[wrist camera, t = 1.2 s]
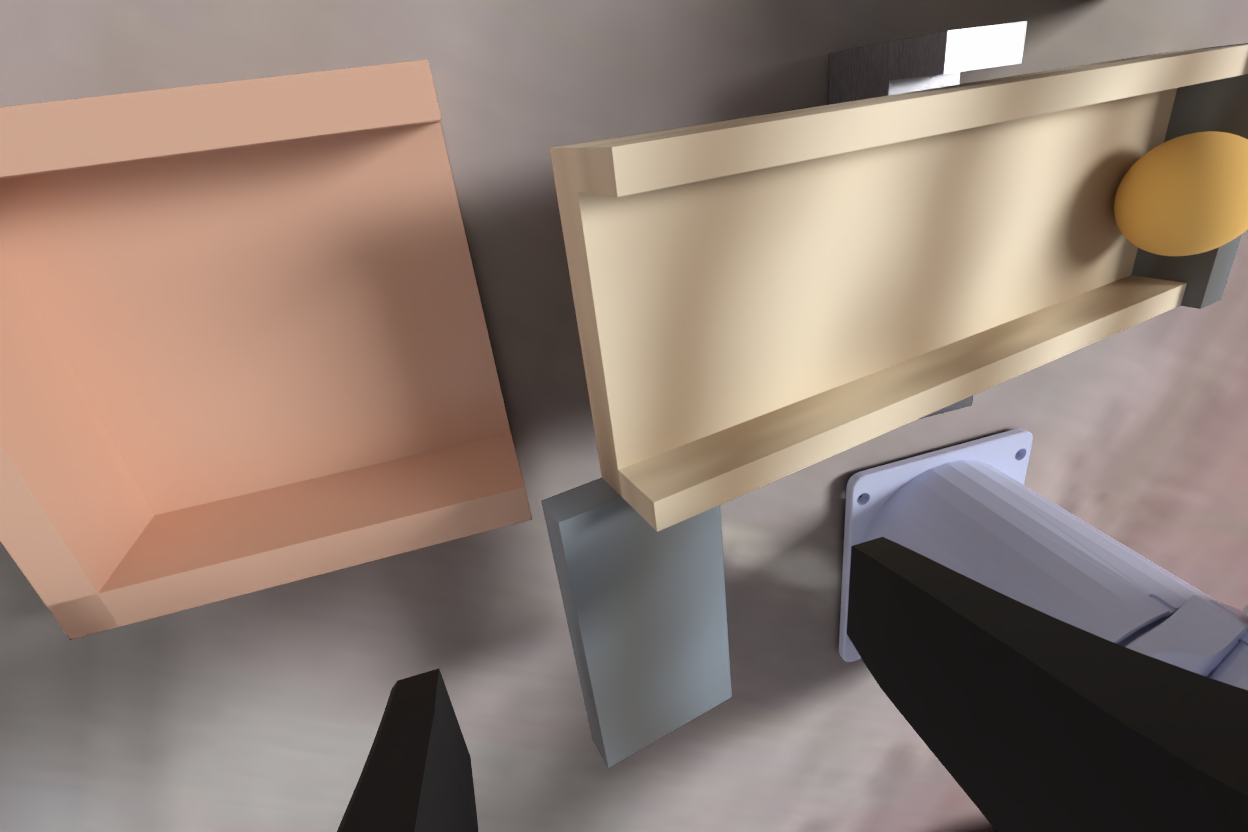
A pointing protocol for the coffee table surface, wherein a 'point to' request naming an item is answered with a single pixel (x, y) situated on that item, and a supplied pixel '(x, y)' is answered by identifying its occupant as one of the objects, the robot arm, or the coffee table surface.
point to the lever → (830, 317)
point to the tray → (238, 342)
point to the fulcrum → (923, 71)
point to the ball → (1186, 195)
